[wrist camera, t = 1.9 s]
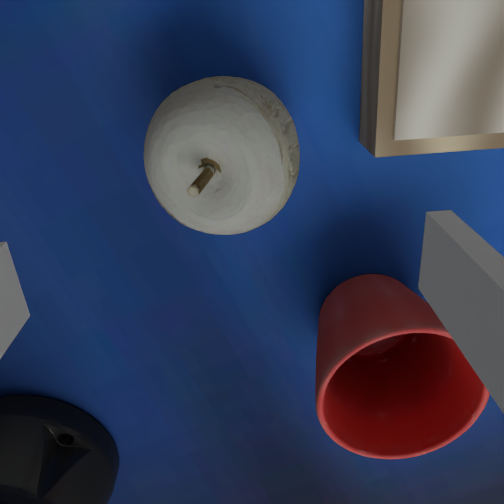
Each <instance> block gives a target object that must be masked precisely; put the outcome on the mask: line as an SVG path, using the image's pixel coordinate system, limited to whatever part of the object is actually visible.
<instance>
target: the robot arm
mask: <svg viewBox="0 0 504 504" xmlns="http://www.w3.org/2000/svg"><path fill="white" fill-rule="evenodd" d="M418 288H419V290H420V291H421V293H422V294H423V296H424V297H425V299H426V300H427V302H428V303H429V305H430V306H431V308H432V309H433V311H434V312H435V313H436V315H437V316H438V318H439V319H440V321H441V322H442V324H443V325H444V327H445V328H446V330H447V331H448V333H449V334H450V336H451V337H452V338H453V340H454V341H455V343H456V344H457V346H458V347H459V349H460V350H461V352H462V353H463V355H464V356H465V358H466V359H467V360H468V362H469V363H470V365H471V366H472V368H473V369H474V371H475V372H476V374H477V375H478V377H479V378H480V380H481V381H482V383H483V384H484V385H485V387H486V388H487V390H488V391H489V393H490V394H491V396H492V397H493V399H494V400H495V402H496V403H497V405H498V406H499V408H500V409H501V410H502V412H503V413H504V257H503V256H502V255H501V254H500V253H498V252H497V251H496V250H495V249H494V248H493V247H492V246H491V245H489V244H488V243H487V242H486V241H485V240H484V239H483V238H482V237H480V236H479V235H478V234H477V233H476V232H475V231H474V230H473V229H471V228H470V227H469V226H468V225H467V224H466V223H465V222H464V221H462V220H461V219H460V218H459V217H458V216H457V215H456V214H455V213H453V212H452V211H451V210H446V211H432V212H426V219H425V229H424V238H423V247H422V257H421V266H420V275H419V285H418ZM29 317H30V314H29V310H28V307H27V304H26V301H25V298H24V295H23V292H22V289H21V286H20V283H19V279H18V276H17V273H16V270H15V267H14V264H13V261H12V258H11V255H10V252H9V248H8V245H7V242H0V359H1V357H2V356H3V354H4V353H5V351H6V350H7V349H8V347H9V346H10V344H11V343H12V341H13V340H14V338H15V337H16V335H17V334H18V333H19V331H20V330H21V328H22V327H23V325H24V324H25V322H26V321H27V319H28V318H29ZM118 469H119V456H118V451H117V448H116V446H115V443H114V441H113V440H112V438H111V436H110V435H109V434H108V432H107V431H106V430H105V429H104V428H103V427H102V426H101V425H100V424H99V423H98V422H97V421H96V420H95V419H93V418H92V417H91V416H89V415H88V414H86V413H85V412H83V411H81V410H79V409H77V408H75V407H73V406H71V405H69V404H66V403H63V402H60V401H57V400H54V399H49V398H45V397H39V396H29V395H12V396H4V397H0V504H107V503H108V501H109V499H110V497H111V495H112V492H113V489H114V485H115V481H116V477H117V474H118Z"/></svg>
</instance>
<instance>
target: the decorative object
mask: <svg viewBox="0 0 504 504" xmlns="http://www.w3.org/2000/svg"><path fill="white" fill-rule="evenodd" d="M299 158H300V153H299V144H298V137H297V132H296V129H295V125H294V122H293V120H292V118H291V116H290V114H289V112H288V110H287V109H286V108H285V106H284V104H283V103H282V102H281V101H280V99H279V98H278V97H277V96H276V95H275V94H274V93H273V92H272V91H271V90H269V89H267V88H266V87H264V86H263V85H261V84H259V83H256V82H254V81H251V80H248V79H244V78H240V77H231V76H215V77H209V78H206V77H205V78H203V79H201V80H197V81H194V82H192V83H189V84H187V85H185V86H183V87H181V88H179V89H178V90H176V91H174V92H172V93H171V94H170V96H169V97H167V98H166V99H165V100H164V101H163V102H162V103H161V104H160V106H159V107H158V109H157V110H156V112H155V114H154V115H153V117H152V119H151V121H150V124H149V127H148V130H147V133H146V137H145V144H144V165H145V171H146V175H147V179H148V181H149V184H150V186H151V189H152V191H153V193H154V195H155V197H156V198H157V200H158V201H159V203H160V204H161V205H162V206H163V208H164V209H165V210H166V211H167V212H168V213H169V214H170V215H171V216H172V217H173V218H175V219H176V220H177V221H179V222H180V223H182V224H183V225H185V226H187V227H190V228H192V229H195V230H197V231H201V232H205V233H209V234H220V235H232V234H239V233H244V232H247V231H250V230H252V229H255V228H257V227H259V226H261V225H263V224H264V223H266V222H268V221H269V220H271V219H272V218H273V217H274V216H275V215H276V214H278V212H279V211H280V210H281V209H282V208H283V207H284V205H285V204H286V202H287V200H288V199H289V197H290V195H291V193H292V191H293V188H294V186H295V184H296V181H297V177H298V172H299V164H300V159H299Z"/></svg>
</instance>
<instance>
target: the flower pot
mask: <svg viewBox="0 0 504 504" xmlns="http://www.w3.org/2000/svg"><path fill="white" fill-rule="evenodd" d="M489 394H490V393H489V391H488V390H487V388H486V387H485V385H484V384H483V383H482V381H481V380H480V378H479V377H478V375H477V374H476V372H475V371H474V369H473V368H472V366H471V365H470V363H469V362H468V360H467V359H466V358H465V356H464V355H463V353H462V352H461V350H460V349H459V347H458V346H457V344H456V343H455V341H454V340H453V338H452V337H451V336H450V334H449V333H448V331H447V330H446V328H445V327H444V325H443V324H442V322H441V321H440V319H439V318H438V316H437V315H436V313H435V312H434V311H433V309H432V308H431V306H430V305H429V304H428V303H427V302H426V301H425V300H423V299H422V298H421V297H419V296H418V295H417V294H416V293H414V292H413V291H411V290H410V289H409V288H407V287H406V286H405V285H404V284H402V283H401V282H400V281H398V280H396V279H394V278H392V277H389V276H386V275H381V274H365V275H360V276H356V277H353V278H351V279H348V280H346V281H344V282H343V283H341V284H340V285H338V286H337V287H336V288H335V289H334V290H333V291H332V292H331V293H330V294H329V295H328V296H327V298H326V299H325V301H324V303H323V305H322V307H321V310H320V314H319V325H318V338H317V353H316V411H317V416H318V419H319V421H320V423H321V425H322V427H323V429H324V430H325V432H326V433H327V434H328V435H329V437H330V438H331V439H333V440H334V441H335V442H336V443H338V444H339V445H340V446H342V447H344V448H345V449H347V450H349V451H351V452H354V453H356V454H359V455H363V456H366V457H372V458H380V459H402V458H410V457H415V456H419V455H423V454H426V453H429V452H432V451H434V450H437V449H438V448H440V447H443V446H445V445H446V444H448V443H450V442H452V441H453V440H454V439H456V438H457V437H459V436H460V435H462V434H463V433H464V432H465V431H466V430H468V429H469V427H470V426H471V425H472V424H473V423H474V422H475V421H476V420H477V418H478V417H479V415H480V414H481V412H482V411H483V409H484V407H485V405H486V403H487V401H488V398H489Z"/></svg>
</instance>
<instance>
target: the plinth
mask: <svg viewBox="0 0 504 504" xmlns="http://www.w3.org/2000/svg"><path fill="white" fill-rule="evenodd" d="M359 142H360V143H361V144H362V145H363V146H364V147H365V148H366V149H367V150H368V151H369V152H370V153H371V154H372V155H373V156H374V157H386V156H400V155H413V154H427V153H440V152H454V151H467V150H481V149H494V148H504V0H364V18H363V47H362V76H361V106H360V135H359Z"/></svg>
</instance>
